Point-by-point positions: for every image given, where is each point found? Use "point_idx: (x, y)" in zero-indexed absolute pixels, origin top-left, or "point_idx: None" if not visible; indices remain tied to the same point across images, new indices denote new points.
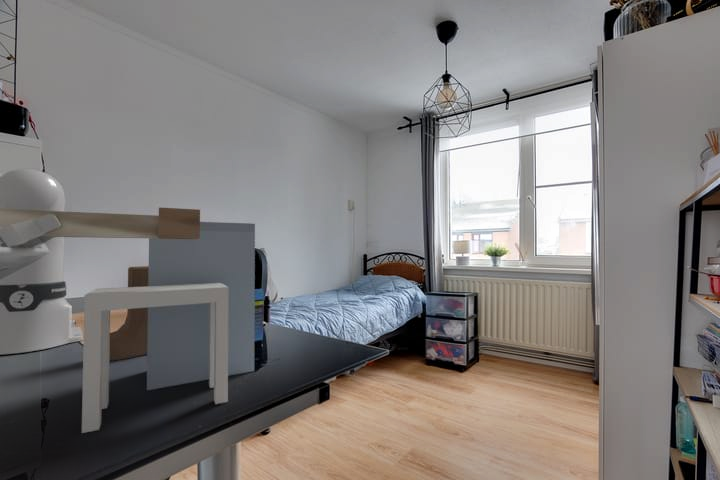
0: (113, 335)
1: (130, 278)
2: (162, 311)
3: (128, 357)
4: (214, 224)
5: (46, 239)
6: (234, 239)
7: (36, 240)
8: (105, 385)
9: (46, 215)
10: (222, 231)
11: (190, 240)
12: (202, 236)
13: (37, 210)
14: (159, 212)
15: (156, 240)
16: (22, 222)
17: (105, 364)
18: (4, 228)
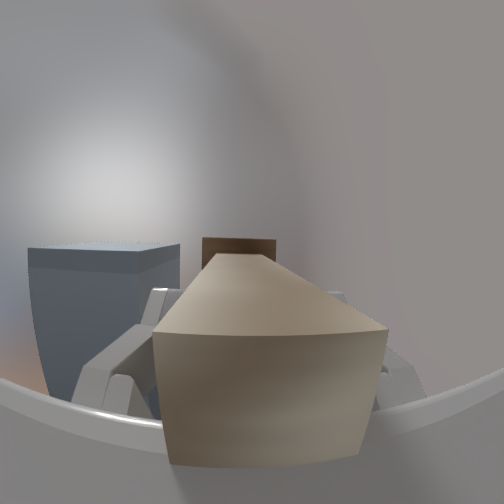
0: None
1: None
2: (158, 417)
3: None
4: (168, 249)
5: (141, 394)
6: (174, 271)
7: (149, 416)
8: None
9: (343, 299)
10: (170, 260)
11: (159, 284)
12: (163, 273)
13: (311, 284)
14: (275, 249)
15: (143, 296)
16: (386, 346)
17: None
18: (420, 387)
